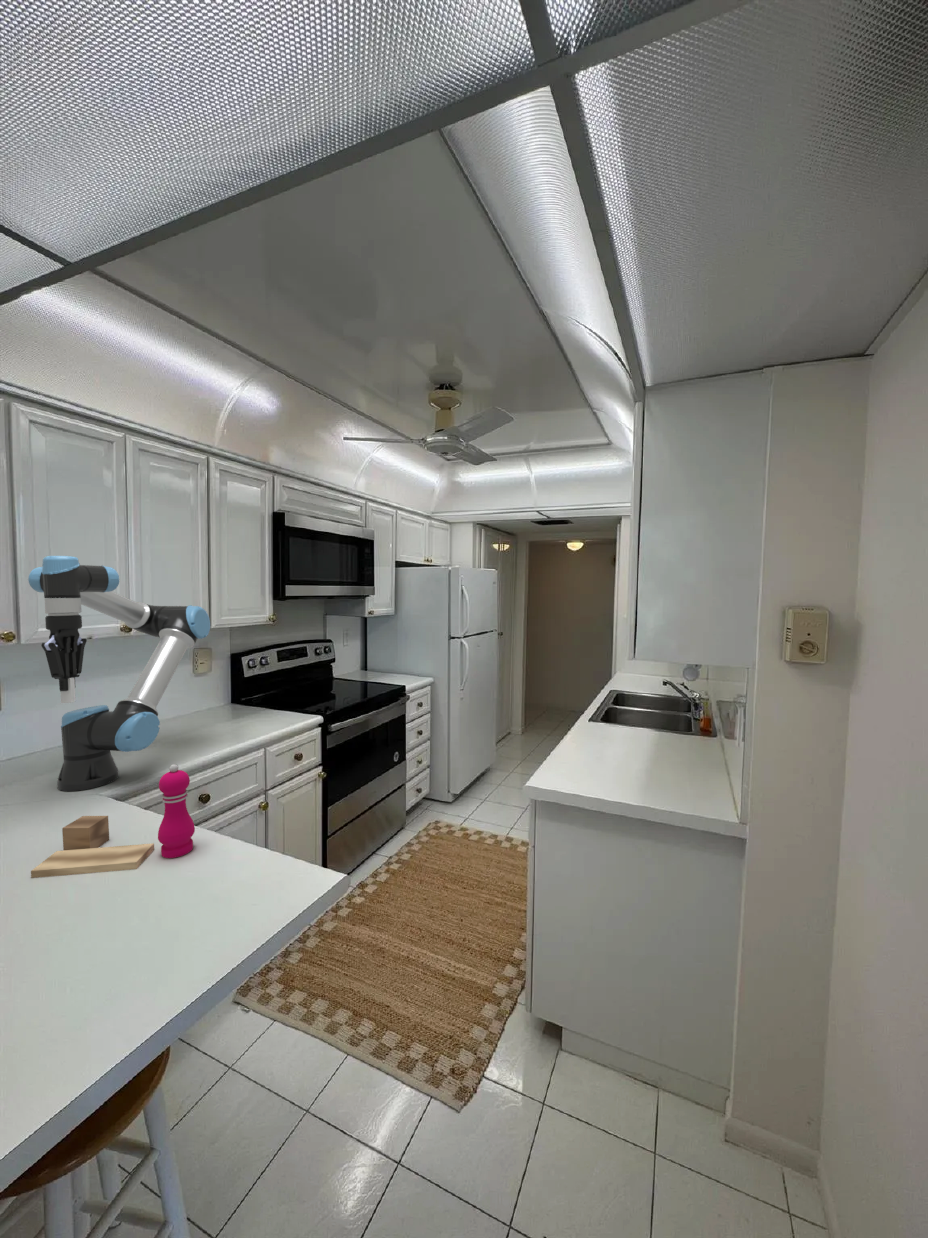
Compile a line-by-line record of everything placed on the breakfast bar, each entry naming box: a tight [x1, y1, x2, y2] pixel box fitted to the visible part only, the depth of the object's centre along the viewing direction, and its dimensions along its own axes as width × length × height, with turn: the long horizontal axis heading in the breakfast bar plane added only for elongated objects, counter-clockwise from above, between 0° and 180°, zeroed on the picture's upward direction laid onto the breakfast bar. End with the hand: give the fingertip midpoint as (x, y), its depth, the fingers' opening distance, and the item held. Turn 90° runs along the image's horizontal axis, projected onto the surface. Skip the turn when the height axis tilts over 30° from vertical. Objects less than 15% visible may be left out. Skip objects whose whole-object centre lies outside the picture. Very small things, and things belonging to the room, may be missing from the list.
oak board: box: [30, 842, 155, 879], centre depth 107 cm, size 8×20×2 cm, turn 99°
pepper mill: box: [157, 764, 196, 859], centre depth 111 cm, size 7×7×20 cm
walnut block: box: [61, 815, 110, 851], centre depth 114 cm, size 6×6×6 cm
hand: (68, 702), depth 133 cm, fingers closed
